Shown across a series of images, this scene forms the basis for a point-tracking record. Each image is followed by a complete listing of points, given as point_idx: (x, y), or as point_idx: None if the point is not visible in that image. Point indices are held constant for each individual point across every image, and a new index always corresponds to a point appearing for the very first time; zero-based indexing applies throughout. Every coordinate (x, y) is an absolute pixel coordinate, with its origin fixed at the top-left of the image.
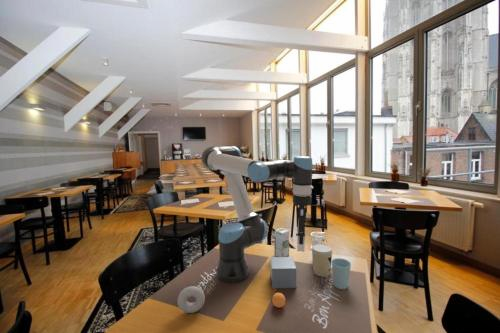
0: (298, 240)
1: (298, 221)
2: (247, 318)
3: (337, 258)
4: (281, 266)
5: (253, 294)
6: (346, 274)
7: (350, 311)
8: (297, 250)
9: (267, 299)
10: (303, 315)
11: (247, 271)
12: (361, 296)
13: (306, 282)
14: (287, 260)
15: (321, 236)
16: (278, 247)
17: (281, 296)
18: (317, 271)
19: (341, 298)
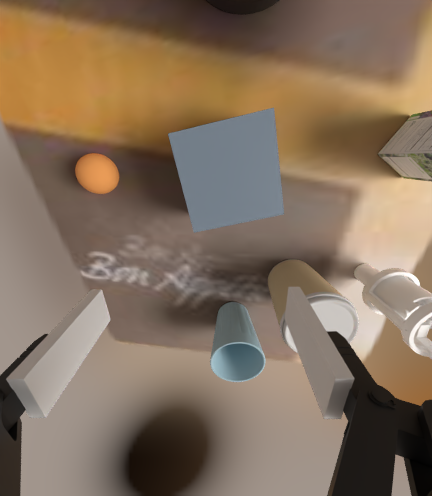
0: (45, 344)
1: (359, 394)
2: (21, 86)
3: (263, 357)
4: (194, 174)
5: (131, 77)
6: (217, 351)
7: (146, 319)
8: (89, 292)
9: (123, 134)
10: (98, 234)
11: (241, 1)
12: (200, 343)
13: (232, 240)
14: (249, 195)
15: (413, 344)
16: (430, 131)
17: (84, 184)
18: (274, 274)
19: (183, 310)
